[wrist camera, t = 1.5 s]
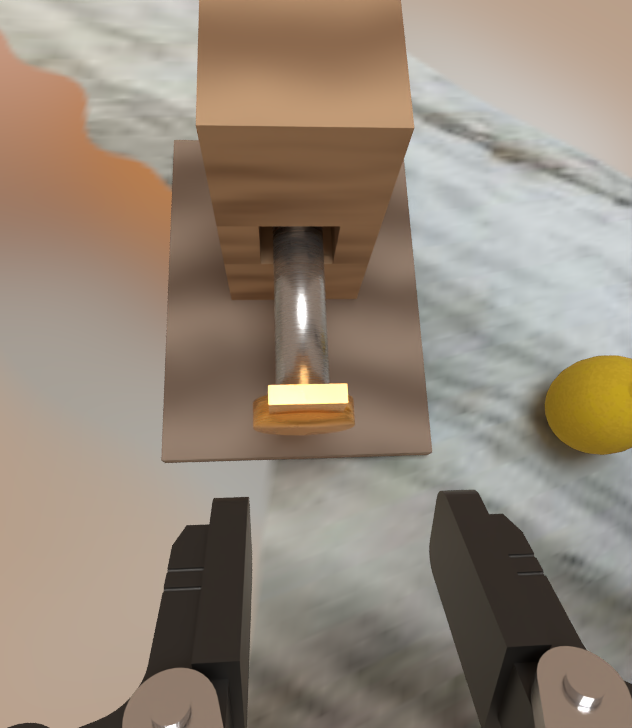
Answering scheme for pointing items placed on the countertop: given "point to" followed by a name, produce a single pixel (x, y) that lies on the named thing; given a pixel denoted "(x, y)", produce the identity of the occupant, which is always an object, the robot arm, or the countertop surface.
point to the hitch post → (294, 208)
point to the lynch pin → (301, 344)
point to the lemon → (593, 405)
